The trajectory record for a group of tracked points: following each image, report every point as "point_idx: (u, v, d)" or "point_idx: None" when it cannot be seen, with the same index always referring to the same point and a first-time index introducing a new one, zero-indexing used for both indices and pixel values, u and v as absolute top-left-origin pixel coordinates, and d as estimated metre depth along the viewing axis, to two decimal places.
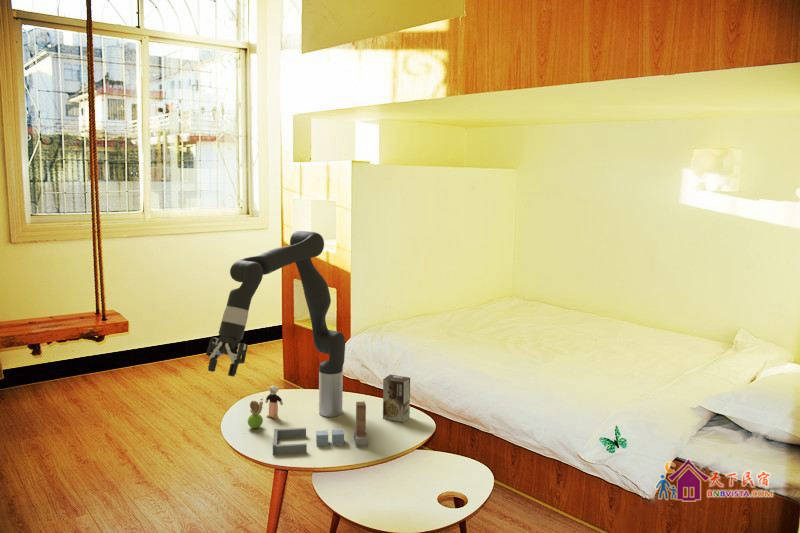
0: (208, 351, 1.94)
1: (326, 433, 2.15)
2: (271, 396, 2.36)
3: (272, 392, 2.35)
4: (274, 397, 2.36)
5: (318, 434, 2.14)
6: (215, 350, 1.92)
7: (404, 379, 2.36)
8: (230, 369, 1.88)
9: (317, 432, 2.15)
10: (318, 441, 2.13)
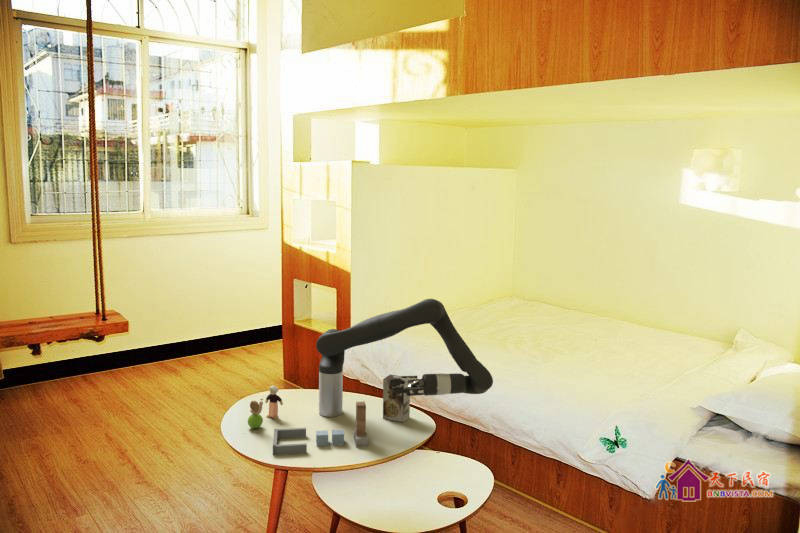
0: None
1: (326, 433, 2.15)
2: (271, 396, 2.36)
3: (272, 392, 2.35)
4: (274, 397, 2.36)
5: (318, 434, 2.14)
6: None
7: None
8: None
9: (317, 432, 2.15)
10: (318, 441, 2.13)
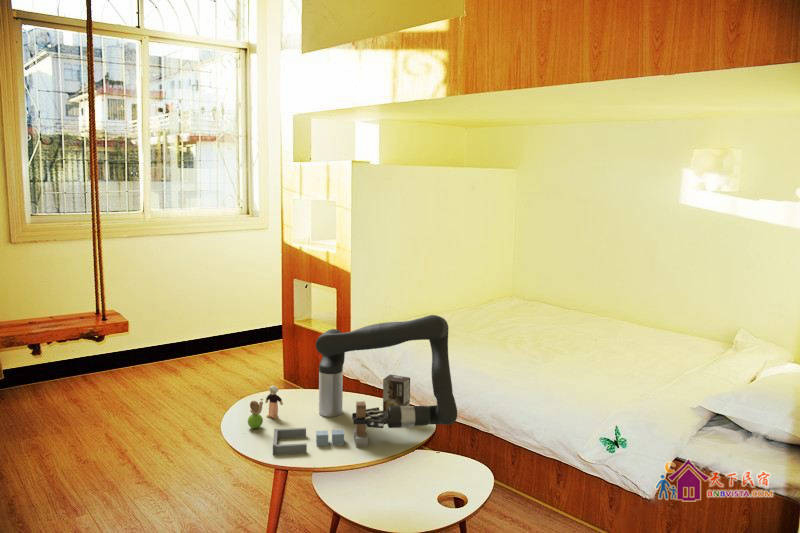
0: None
1: (326, 433, 2.15)
2: (271, 396, 2.36)
3: (272, 392, 2.35)
4: (274, 397, 2.36)
5: (318, 434, 2.14)
6: None
7: (404, 379, 2.36)
8: None
9: (317, 432, 2.15)
10: (318, 441, 2.13)
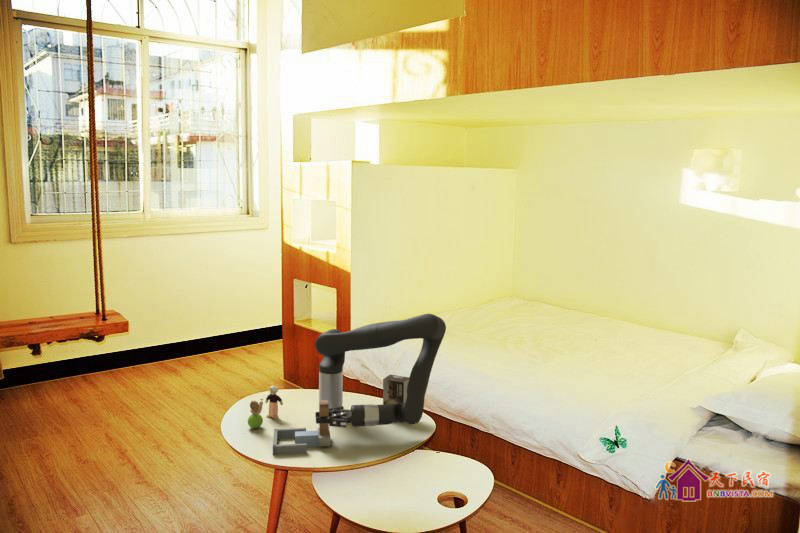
0: None
1: (305, 434, 2.13)
2: (271, 396, 2.36)
3: (272, 392, 2.35)
4: (274, 397, 2.36)
5: (296, 435, 2.12)
6: None
7: (404, 379, 2.36)
8: None
9: (296, 433, 2.14)
10: (296, 442, 2.12)
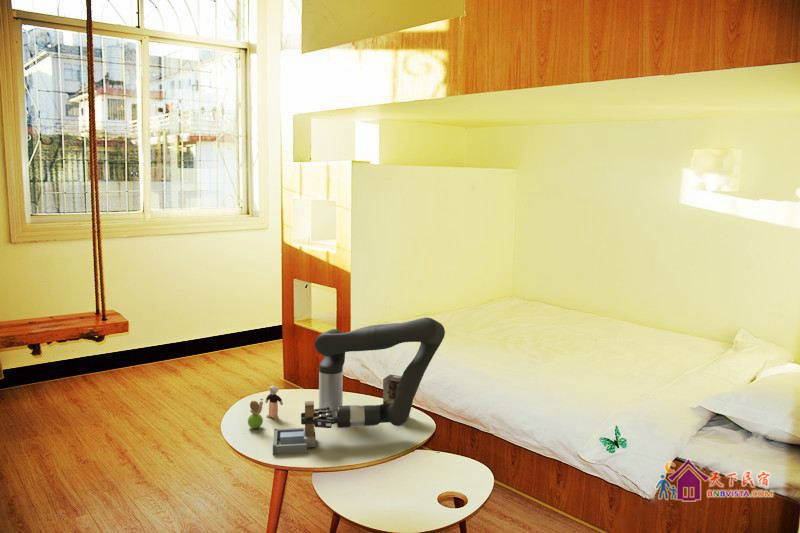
0: None
1: (290, 435, 2.12)
2: (271, 396, 2.36)
3: (272, 392, 2.35)
4: (274, 397, 2.36)
5: (282, 436, 2.11)
6: None
7: None
8: None
9: (281, 434, 2.13)
10: (282, 443, 2.11)
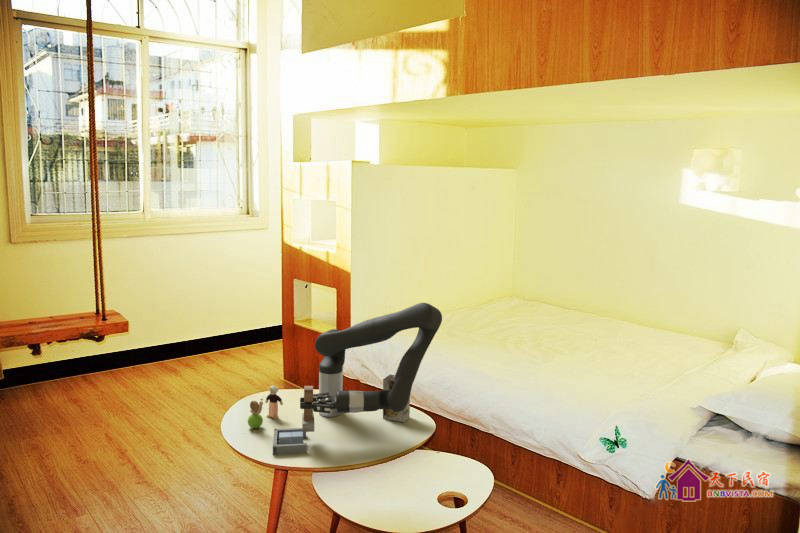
0: None
1: (289, 435, 2.12)
2: (271, 396, 2.36)
3: (272, 392, 2.35)
4: (274, 397, 2.36)
5: (281, 436, 2.11)
6: None
7: None
8: None
9: (280, 434, 2.13)
10: (280, 443, 2.11)
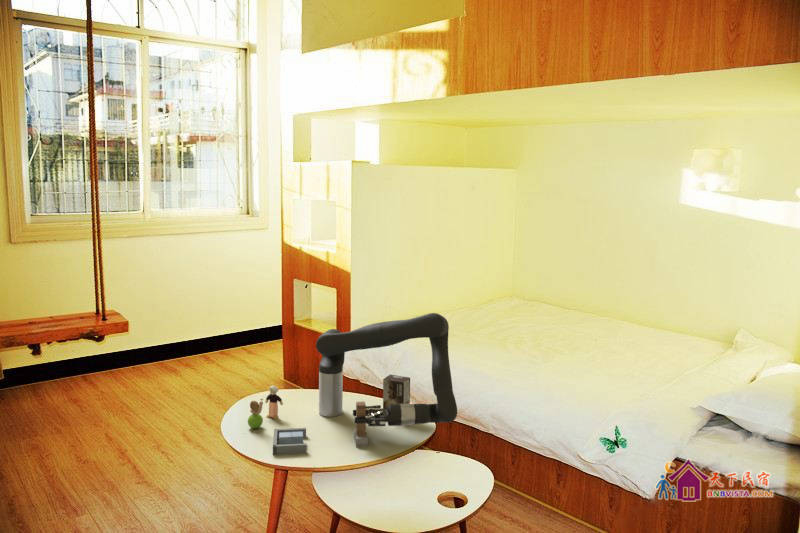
0: None
1: (289, 435, 2.12)
2: (271, 396, 2.36)
3: (272, 392, 2.35)
4: (274, 397, 2.36)
5: (281, 436, 2.11)
6: None
7: (404, 379, 2.36)
8: None
9: (280, 434, 2.13)
10: (280, 443, 2.11)
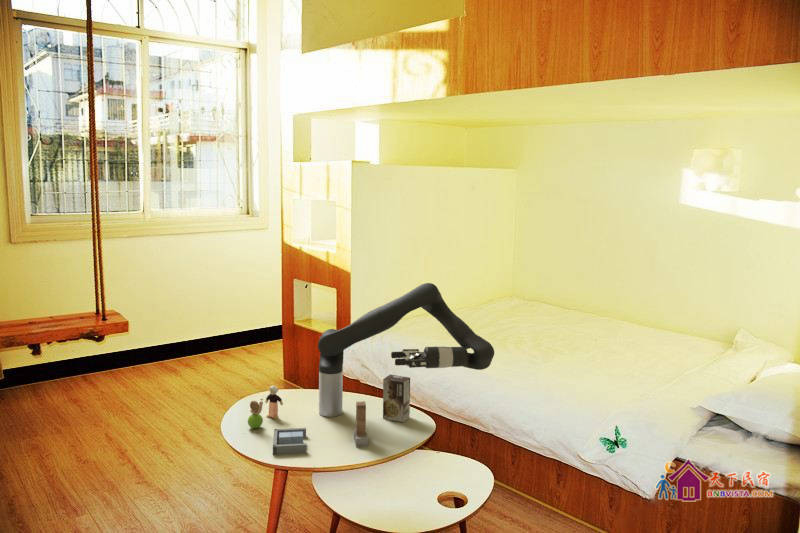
0: None
1: (289, 435, 2.12)
2: (271, 396, 2.36)
3: (272, 392, 2.35)
4: (274, 397, 2.36)
5: (281, 436, 2.11)
6: None
7: (404, 379, 2.36)
8: None
9: (280, 434, 2.13)
10: (280, 443, 2.11)
